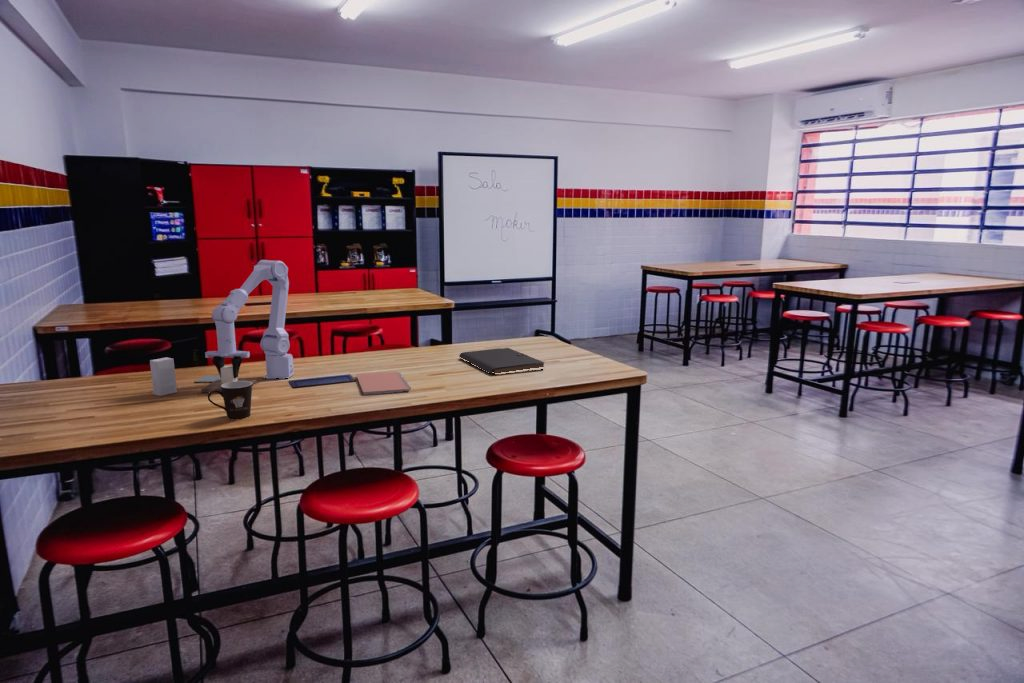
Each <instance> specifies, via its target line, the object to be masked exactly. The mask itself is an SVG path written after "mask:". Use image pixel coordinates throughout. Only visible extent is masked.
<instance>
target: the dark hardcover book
mask: <svg viewBox="0 0 1024 683" xmlns="http://www.w3.org/2000/svg"><path fill="white" fill-rule="evenodd" d="M459 357H461V358H463V359H465V360H467V361H469V362H470V363H472V364H474V365H476V366H478V367H479V368H481V369H483V370H485V371H487V372H489V373H491V374H492V372H494V374H495V373H501V372H509V371H516V370H523V369H530V368H539V367H544V368H545V366H544V365H545V362H544V361H542V360H540V359H537V358H534V357H531V356H530V355H527V354H524V353H522V352H519V351H517V350H514V349H513V348H509V347H503V348H490V349H482V350H471V351H463V352H461V353H460V354H459ZM459 357H458V358H459ZM479 368H478V369H479ZM481 369H480V370H481ZM483 370H482V371H483ZM485 371H484V372H485ZM487 372H486V373H487ZM489 373H488V374H489ZM491 374H490V375H491ZM494 374H492V375H494Z"/></svg>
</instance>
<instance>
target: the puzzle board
mask: <svg viewBox="0 0 1024 683" xmlns="http://www.w3.org/2000/svg"><path fill="white" fill-rule="evenodd" d="M238 381H249V382H252V387H254V386H255V385H257V384H256V383H257V379H238ZM254 384H255V385H254ZM221 385H222V383H221V379H217V380H215V381H214V382H212V383H208V384H207V385H205V386H204V387H202V388H201V393H202V392H212V391H215V390H217V391H220V392H222V389H221ZM253 385H254V386H253Z"/></svg>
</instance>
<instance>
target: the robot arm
mask: <svg viewBox="0 0 1024 683" xmlns="http://www.w3.org/2000/svg"><path fill="white" fill-rule="evenodd" d="M288 272H289V267H288V266H287V265H286V264H285V262H283V261H282V260H268V259H261V260H259V261H258V262H257V264H256V265H254V266H253V271H252V272H251V273H250V275H249V276H248V277H247V279H246V280H245V281H244V282H243V284H242V285H241V286H240V288H235V289H233V290H230V292H229V295H228V296H227V297H226V298H225V299H224V300H222V301H221V304H219V305H216V306H215V307H214V308H213V310H212V313H211V314H210V316H211V318H212V320H213V321H214V324H215V328H216V329H215V330H216V338H217V340H216V341H217V350H211V351H210V350H208V351H206V352H204V354H205V355H204V357H205V358H206V359H209V358H212V359H211V362H212V363H213V365H214V367H215V368H216V369H217V371H218V376H220V378H221V370H220V368H222V367H224V366H225V361H226V358H231V359H230V361H231V366H233V376H234V378H237V379H238V378H239V372H240V367H241V365H242V362H243V360H244V359H247V358H248V359H249V358H250V355H251V353H250V351H249V350H248V351H246V350H245V351H244V350H237V345H236V344H237V341H236V331H235V329H236V328H235V321H236V320H237V318H238V314H239V312H240V310H241V309H242V308H243V306H244V305H245V304H246V303H247V302H248V300H249V295H250V293H251V292H253V290H255V288H256V287H258V286H259V284H261V282H263V281H265V280H266V281H268V282H269V283H270V285H271V286H272V293H271V302H270V304H271V305H270V311H269V312H270V313H269V318H268V319H269V321H268V327H267V328H266V330H264V332H263V334H262V338H261V339H260V349H262V351H263V352H264V354H265V367H266V370H265V371H266V375H264V376H263V377H262V379H263V378H264V379H265V378H266V380H267V379H272V380H273V379H274V380H276V378H279V379H281V380H283V379H284V380H285V378H288V379H290V378H291V377H292V376H293V375H295V372H294V371H295V370H294V357H293V354H291V353H288V351H289V349H290V347H291V346H290V345H291V344H290V340H289V336H290V335H289V333H288V332H287V331H286V330H285V326H286V325H285V324H286V315H287V314H286V313H287V306H288V296H289V287H290V286H289V285H290V280H289V277H288V274H289V273H288ZM289 377H290V378H289Z"/></svg>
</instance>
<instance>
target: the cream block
mask: <svg viewBox="0 0 1024 683" xmlns="http://www.w3.org/2000/svg"><path fill="white" fill-rule="evenodd" d="M220 370H221V383H222V384H224V383H228V382H234V381H238V380H239V379H238V377H237V378H234V376H233V366H232V365H224V367H222V368H220Z"/></svg>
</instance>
